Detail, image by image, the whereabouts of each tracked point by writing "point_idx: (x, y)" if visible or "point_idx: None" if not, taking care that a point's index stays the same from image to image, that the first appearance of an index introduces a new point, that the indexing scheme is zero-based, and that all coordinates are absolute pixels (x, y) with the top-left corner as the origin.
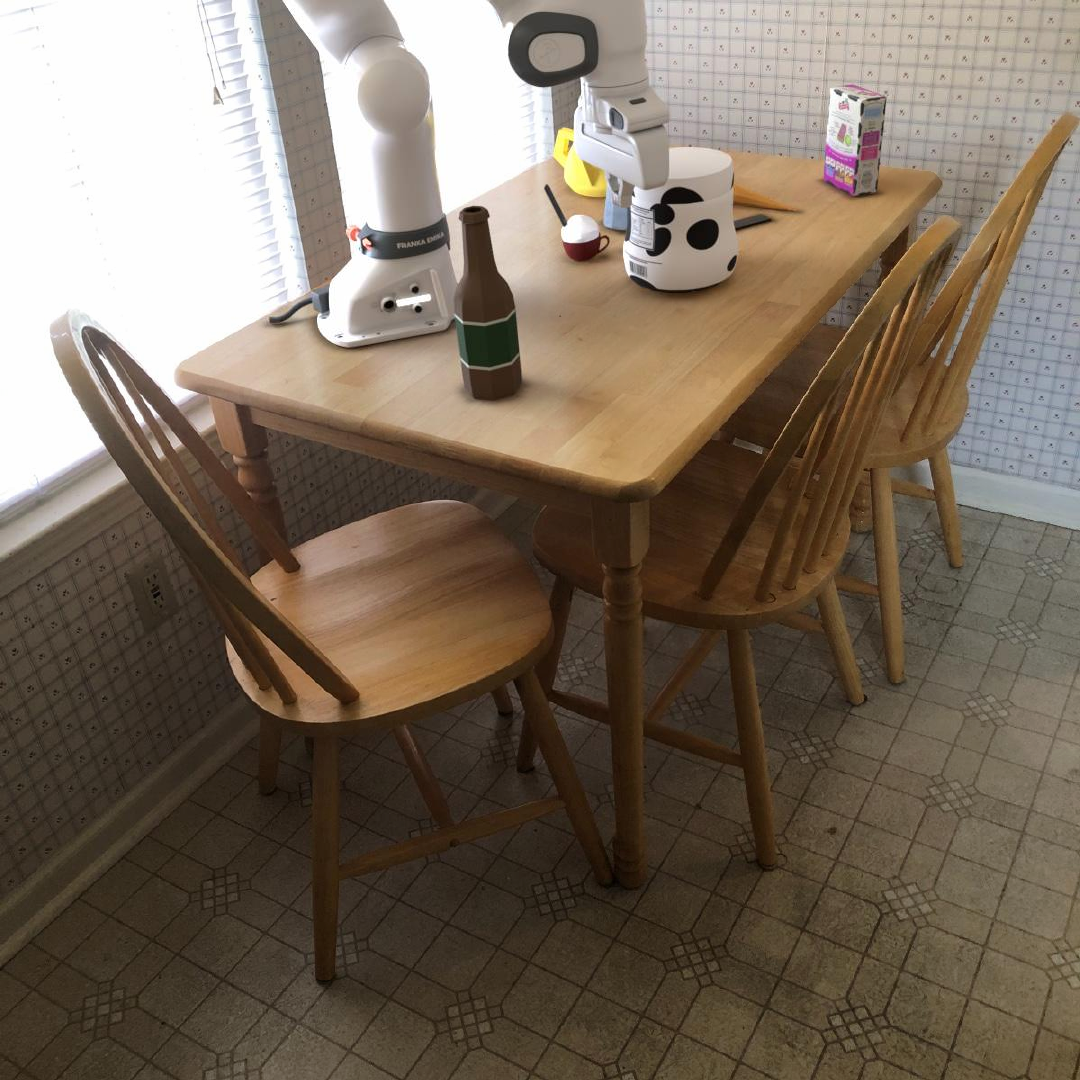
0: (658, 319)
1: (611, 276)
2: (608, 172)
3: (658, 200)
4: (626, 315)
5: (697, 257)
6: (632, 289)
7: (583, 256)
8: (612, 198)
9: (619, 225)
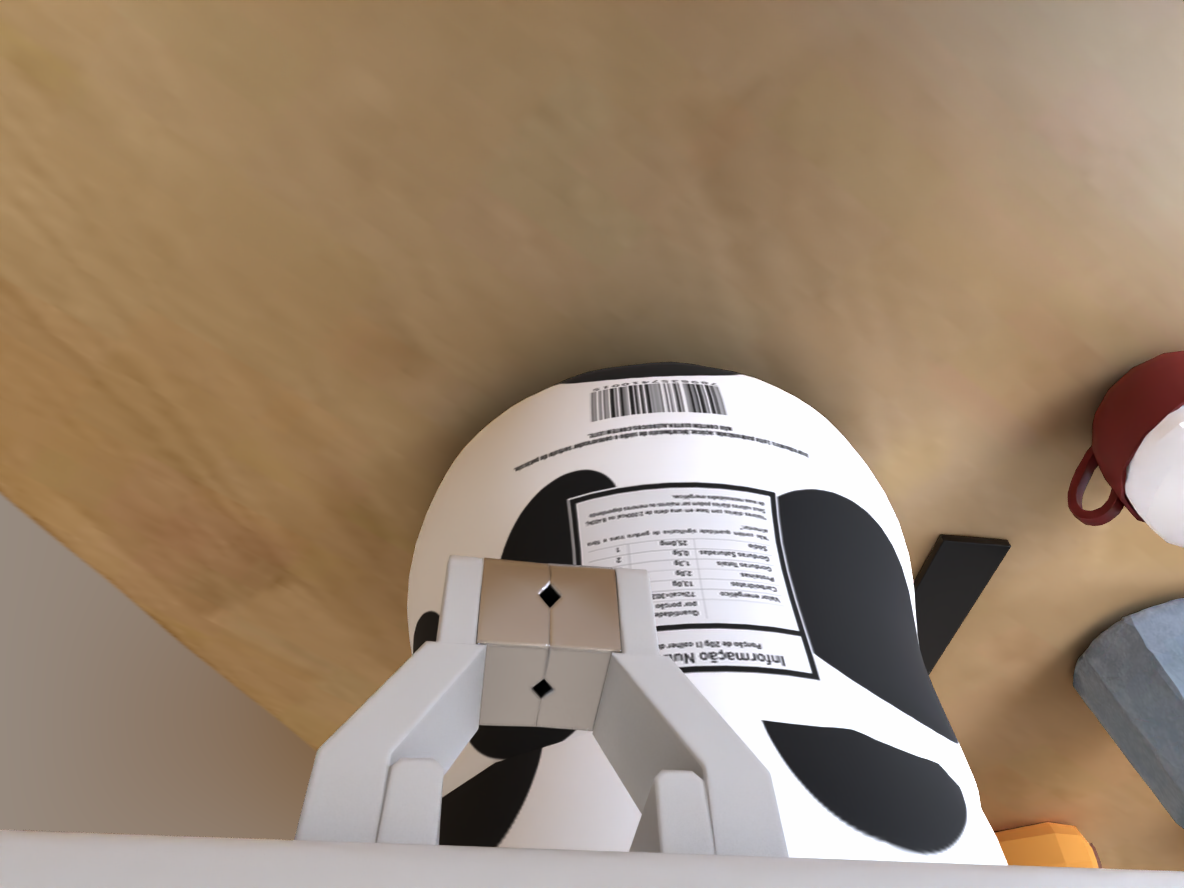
0: (379, 243)
1: (902, 366)
2: (570, 858)
3: (549, 762)
4: (513, 164)
5: (417, 583)
6: (725, 349)
7: (1126, 382)
8: (619, 599)
9: (1167, 618)
